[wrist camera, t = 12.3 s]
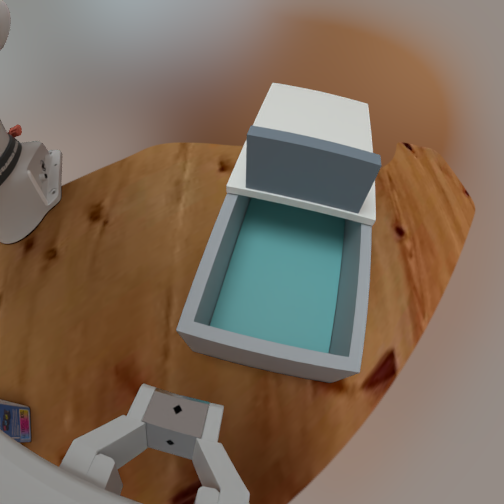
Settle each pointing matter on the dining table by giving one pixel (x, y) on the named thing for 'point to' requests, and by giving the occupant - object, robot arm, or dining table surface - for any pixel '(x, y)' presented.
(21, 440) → the ink cartridge box
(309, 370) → the box
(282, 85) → the lid
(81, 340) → the dining table surface
